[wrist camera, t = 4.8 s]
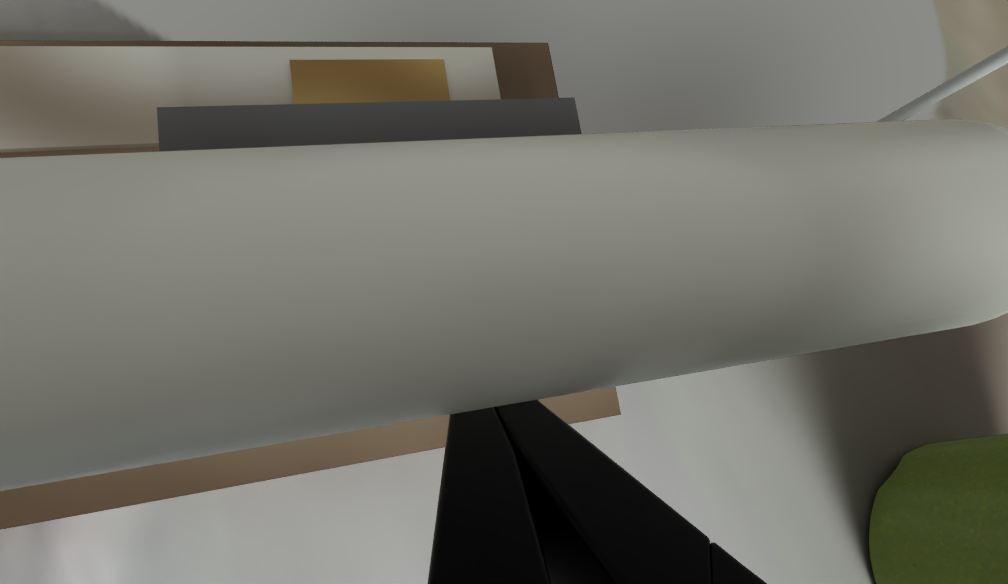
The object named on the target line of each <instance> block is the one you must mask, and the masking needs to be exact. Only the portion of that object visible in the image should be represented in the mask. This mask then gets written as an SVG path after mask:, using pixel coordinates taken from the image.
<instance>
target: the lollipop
mask: <svg viewBox="0 0 1008 584" xmlns="http://www.w3.org/2000/svg"><path fill="white" fill-rule="evenodd" d="M1007 63H1008V46H1007V47H1005V48H1003V49H1002V50H1000V51H998V52H997V53H995V54H993V55H991V56H990V57H988V58H986V59H984V60H983V61H981V62H979V63H977V64H976V65H974V66H972V67H971V68H969V69H967V70H965V71H964V72H962V73H960V74H958V75H957V76H955V77H953V78H952V79H950V80H948V81H946V82H945V83H943V84H941V85H939V86H938V87H936V88H934V89H933V90H931V91H929V92H927V93H926V94H924V95H922V96H921V97H919V98H917V99H915V100H913V101H912V102H910V103H908V104H907V105H905V106H903V107H901V108H900V109H898V110H896V111H895V112H893V113H891V114H889V115H888V116H886V117H884V118H882V119H881V120H879V121H877V122H891V121H904V120H905V119H907V118H909V117H911V116H913V115H914V114H916V113H918V112H920V111H922V110H923V109H925V108H927V107H929V106H931V105H932V104H934V103H936V102H938V101H940V100H942V99H943V98H945V97H947V96H949V95H951V94H952V93H954V92H956V91H958V90H960V89H961V88H963V87H965V86H967V85H969V84H971V83H972V82H974V81H976V80H978V79H980V78H981V77H983V76H985V75H987V74H989V73H990V72H992V71H994V70H996V69H998V68H1000V67H1001V66H1003V65H1005V64H1007Z"/></svg>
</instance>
